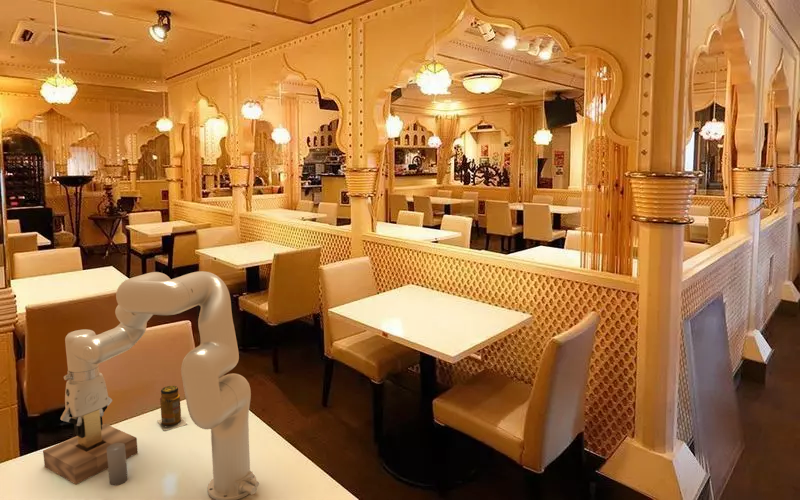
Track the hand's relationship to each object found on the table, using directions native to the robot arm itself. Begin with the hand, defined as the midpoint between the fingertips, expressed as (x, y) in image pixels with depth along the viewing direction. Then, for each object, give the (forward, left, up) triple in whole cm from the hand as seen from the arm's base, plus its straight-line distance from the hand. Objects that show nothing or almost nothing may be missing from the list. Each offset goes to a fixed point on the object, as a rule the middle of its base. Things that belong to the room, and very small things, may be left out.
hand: (89, 431), depth 151 cm
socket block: (0, 0, -9) cm, 9 cm away
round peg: (-16, +2, -9) cm, 19 cm away
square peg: (0, 0, -3) cm, 3 cm away
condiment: (-1, -26, -9) cm, 28 cm away
